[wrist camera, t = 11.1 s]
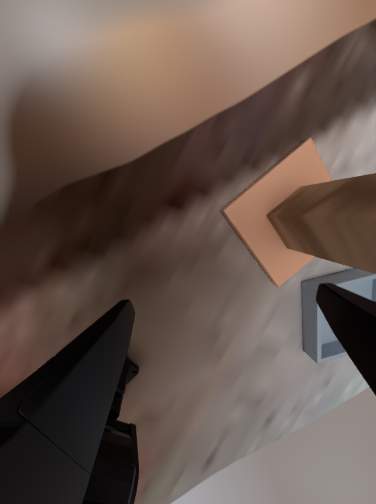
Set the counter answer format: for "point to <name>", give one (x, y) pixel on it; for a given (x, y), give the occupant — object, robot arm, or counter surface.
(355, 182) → the walnut box
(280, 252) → the terracotta tile
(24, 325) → the counter surface
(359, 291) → the tray
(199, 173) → the counter surface
